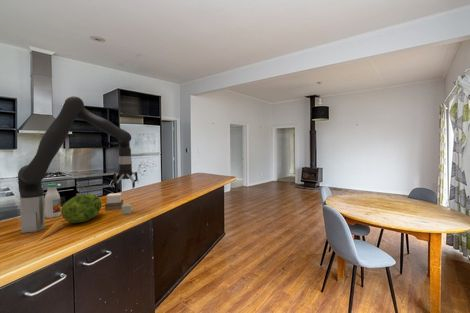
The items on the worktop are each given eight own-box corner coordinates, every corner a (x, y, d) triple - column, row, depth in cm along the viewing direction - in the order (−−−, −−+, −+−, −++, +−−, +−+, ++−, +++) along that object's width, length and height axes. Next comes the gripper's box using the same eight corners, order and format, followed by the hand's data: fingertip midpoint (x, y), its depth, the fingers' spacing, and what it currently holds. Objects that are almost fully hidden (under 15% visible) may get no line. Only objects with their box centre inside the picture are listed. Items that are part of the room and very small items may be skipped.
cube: (130, 213, 151) (130, 205, 151) (121, 214, 149) (121, 206, 149) (131, 211, 156) (130, 204, 155) (122, 212, 154) (122, 204, 154)
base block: (121, 209, 162) (121, 202, 161) (105, 211, 158) (105, 203, 158) (123, 206, 171) (123, 199, 171) (107, 207, 168) (107, 200, 168)
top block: (120, 202, 162) (119, 195, 162) (107, 203, 159) (106, 195, 159) (121, 199, 169) (121, 193, 169) (109, 200, 167) (109, 193, 167)
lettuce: (110, 213, 151) (109, 189, 151) (83, 227, 125) (83, 198, 124) (87, 213, 151) (86, 189, 151) (55, 227, 125) (54, 198, 124)
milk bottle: (47, 219, 140) (46, 185, 139) (43, 216, 145) (42, 184, 144) (62, 216, 146) (61, 183, 145) (58, 213, 151) (57, 182, 150)
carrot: (58, 229, 124) (53, 222, 124) (66, 225, 125) (62, 218, 124) (33, 249, 105) (27, 240, 104) (43, 244, 105) (38, 236, 105)
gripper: (111, 164, 145) (112, 190, 146) (136, 163, 150) (137, 188, 151) (113, 163, 152) (114, 188, 153) (137, 162, 157) (138, 186, 158)
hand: (126, 188), depth 152 cm, fingers open, 8 cm apart
